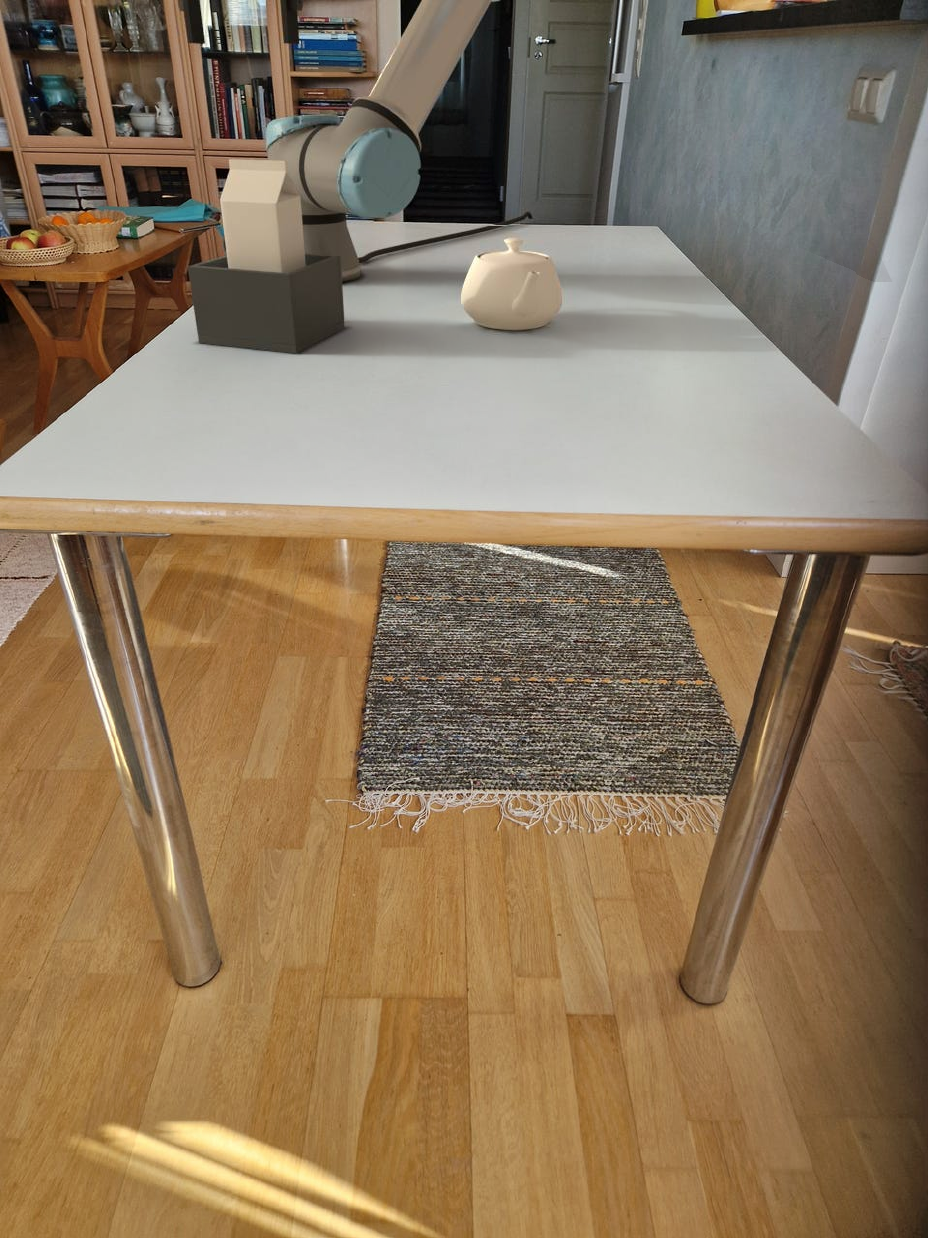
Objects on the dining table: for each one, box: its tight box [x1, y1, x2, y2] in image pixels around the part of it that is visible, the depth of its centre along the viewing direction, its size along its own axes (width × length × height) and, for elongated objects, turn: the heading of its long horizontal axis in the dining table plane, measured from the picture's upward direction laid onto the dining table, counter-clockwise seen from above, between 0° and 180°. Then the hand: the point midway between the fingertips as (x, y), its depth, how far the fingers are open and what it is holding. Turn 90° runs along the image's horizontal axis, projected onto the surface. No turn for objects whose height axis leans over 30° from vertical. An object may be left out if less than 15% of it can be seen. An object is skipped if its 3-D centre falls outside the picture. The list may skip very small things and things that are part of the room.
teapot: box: [460, 237, 563, 331], centre depth 115 cm, size 22×14×11 cm, turn 12°
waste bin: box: [187, 253, 346, 355], centre depth 108 cm, size 14×14×9 cm
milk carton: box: [219, 158, 306, 273], centre depth 105 cm, size 7×7×19 cm
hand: (243, 43), depth 108 cm, fingers open, 13 cm apart
